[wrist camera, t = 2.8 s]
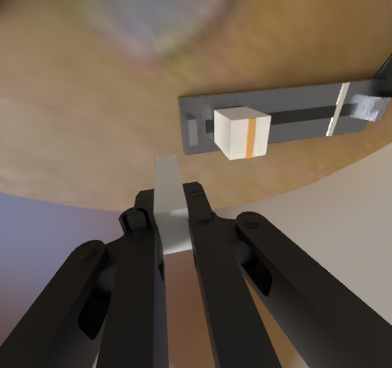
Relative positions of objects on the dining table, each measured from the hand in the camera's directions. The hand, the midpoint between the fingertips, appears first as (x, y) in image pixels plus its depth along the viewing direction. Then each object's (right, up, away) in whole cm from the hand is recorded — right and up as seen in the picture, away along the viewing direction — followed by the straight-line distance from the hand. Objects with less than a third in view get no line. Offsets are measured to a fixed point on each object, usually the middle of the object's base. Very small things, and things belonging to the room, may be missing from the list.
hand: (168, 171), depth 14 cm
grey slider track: (+14, +9, +12) cm, 20 cm away
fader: (+6, +7, +9) cm, 13 cm away
